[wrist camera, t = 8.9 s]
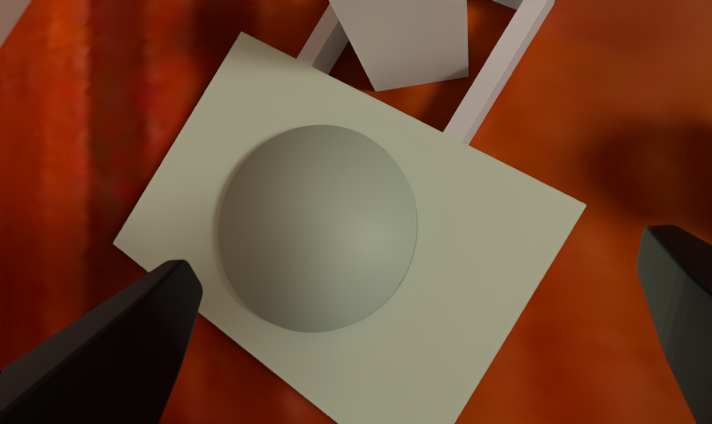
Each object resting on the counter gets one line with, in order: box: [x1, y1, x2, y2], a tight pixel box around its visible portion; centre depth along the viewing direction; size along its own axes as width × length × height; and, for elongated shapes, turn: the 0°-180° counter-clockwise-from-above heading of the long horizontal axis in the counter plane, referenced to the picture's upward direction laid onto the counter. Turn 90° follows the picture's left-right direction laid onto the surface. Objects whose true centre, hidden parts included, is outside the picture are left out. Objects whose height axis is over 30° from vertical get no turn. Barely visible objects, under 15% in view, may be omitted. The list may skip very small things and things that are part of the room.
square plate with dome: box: [113, 0, 586, 424], centre depth 22 cm, size 23×20×3 cm
